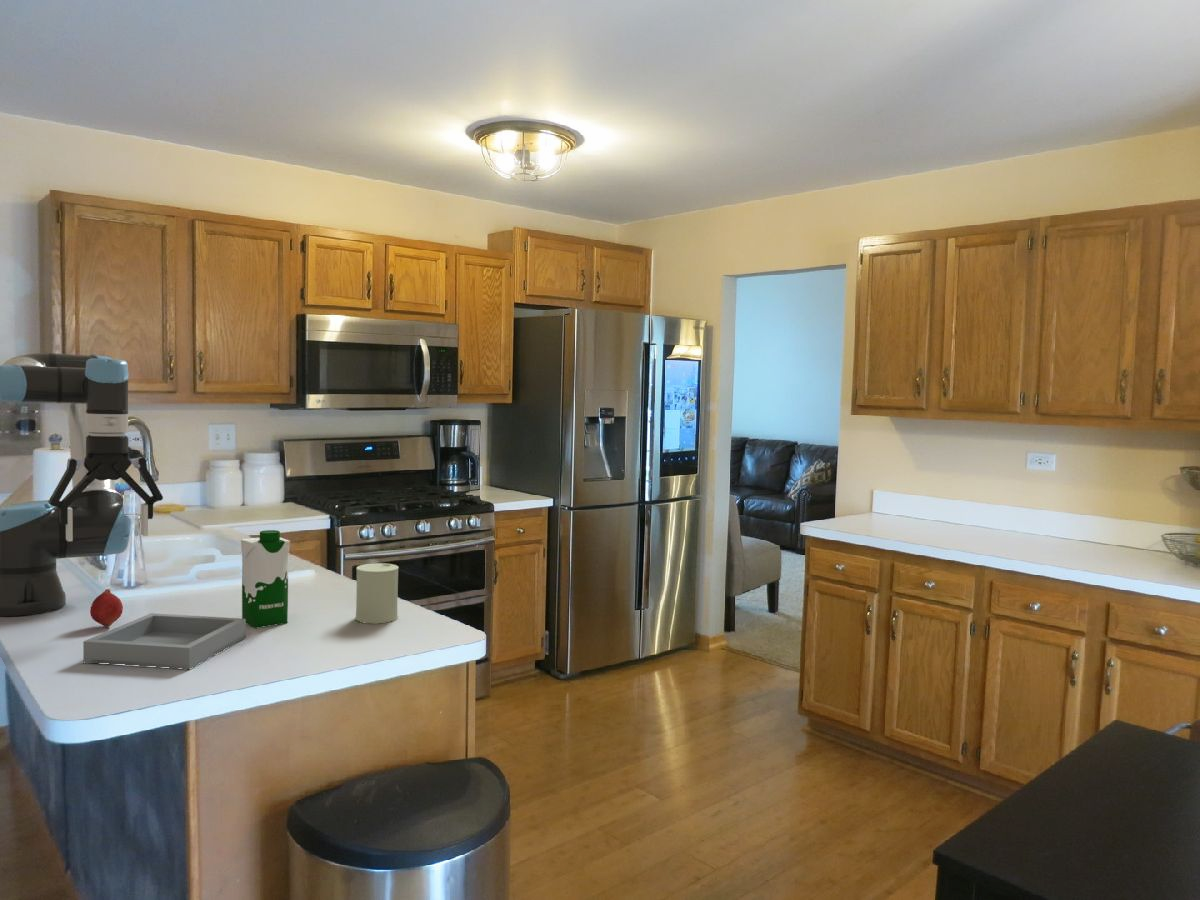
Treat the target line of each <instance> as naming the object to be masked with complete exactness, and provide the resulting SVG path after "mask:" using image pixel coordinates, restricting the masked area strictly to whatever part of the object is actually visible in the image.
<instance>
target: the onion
mask: <svg viewBox="0 0 1200 900" xmlns="http://www.w3.org/2000/svg"><path fill="white" fill-rule="evenodd" d="M123 609H124V607H123V602H122V601H121V599H120V598H119V597H118V596H116V594H114V593H112V592H111V588H106V589H105V590H104V591H103V592H102V593H100V594H99V595H97V597H95V599H94V600H93V601H92V603H91V605H90V610H89V612H90V617H91V619H92V620H93V621H95V622H96V623H97V624H99V625H102V626H103V627H105V628H108V627H111V626H112V624H114V623H115V622H116V621H117V620H118V619H119V618H121V616H122V614H123V611H124V610H123Z"/></svg>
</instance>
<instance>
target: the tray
mask: <svg viewBox="0 0 1200 900" xmlns="http://www.w3.org/2000/svg"><path fill="white" fill-rule="evenodd" d="M246 629H247V623H246V619H242V617H241V618H238V617H224V616H223V617H221V616H206V615H205V616H204V615H203V616H201V615H189V614H187V615H186V614H171V613H156V612H155V613H153V612H151V613H148V614H147V615H144V616H141V617H139V618H137V619H134V620H132V621H130V622H126V623H125V624H122V625H119V626H117V627H114V628H112V629H110V630H107V631H105V632H103V633H100V634H97V635H95V636H92V637H91V638H88V639H85V640H84V641H83V650H82V651H83V663H84V662H85V663H84V664H88V663H109V664H125V665H139V666H156V667H169V668H182V669H190V668H192V667H194V666H196V665H198V664H199V663H201V662H203V661H205V660H206V661H208V660H209V659H208V658H210V657H212V656H213V657H215V656H216V655H215V654H217V653H219V652H221V651H222V652H224V651H225V650H224V649H226V648H228V647H229V648H231V647H233V646H234V644H235V643H237V642H238V643H240V642H242V641H243V639H244V638H245V639H247V638H246V637H247V635H246V634H247V632H246V631H247V630H246ZM245 639H244V640H245ZM241 640H242V641H241ZM239 641H240V642H239ZM238 643H237V644H238ZM232 645H233V646H232ZM235 645H236V644H235ZM230 646H231V647H230ZM229 648H228V649H229ZM223 650H224V651H223ZM226 650H227V649H226ZM222 652H221V653H222ZM219 654H220V653H219ZM214 655H215V656H214ZM217 655H218V654H217ZM213 657H212V658H213ZM207 659H208V660H207ZM210 659H211V658H210ZM206 661H205V662H206ZM203 663H204V662H203ZM201 664H202V663H201ZM199 665H200V664H199ZM199 665H198V666H199ZM196 667H197V666H196ZM194 668H195V667H194ZM192 669H193V668H192ZM190 670H191V669H190Z"/></svg>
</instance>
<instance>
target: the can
mask: <svg viewBox="0 0 1200 900" xmlns="http://www.w3.org/2000/svg"><path fill="white" fill-rule="evenodd" d="M399 567H400V566H398V565H397V564H393V563H381V562H378V563H377V562H376V563H366V564H361V565H358V566H357V567H356V570H355V571H356V599H355V600H356V605H355V607H356V608H355V609H356V610H355V621H356V620H357V621H356V622H358V621H360V622H359V623H361V622H365V623H364V624H368V623H381V624H386V623H385V622H388V623H391V621H392V622H395V621H396V620H397V619H398V618H399V616H398V614H399V613H398V597H399V596H398V594H399V593H398V592H399V590H398V589H399V588H398V587H399V586H398V585H399Z"/></svg>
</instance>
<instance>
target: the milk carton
mask: <svg viewBox="0 0 1200 900" xmlns="http://www.w3.org/2000/svg"><path fill="white" fill-rule="evenodd" d="M280 532H281V531H280V530H275V529H274V530H271V529H269V530H267V529H266V530H262V531H261V530H260V531H259V537H253V538H252V537H251V538H241V539H240V545H241V562H242V564H241V569H242V570H241V573H242V574H241V619H246V625H249V626H250V625H251V626H250V627H252V626H253V627H252V628H254V627H255V629H258V628H257V627H259V628H264V627H263V626H265V627H270V626H269V625H271V626H276V625H275V624H277V625H282V624H281V623H283V624H287V623H288V619H289V618H288V612H289V610H288V609H289V556H290V555H289V553H290V545H291V540H288V539H285V538H283V537H281V536H280V535H281V533H280Z"/></svg>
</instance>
